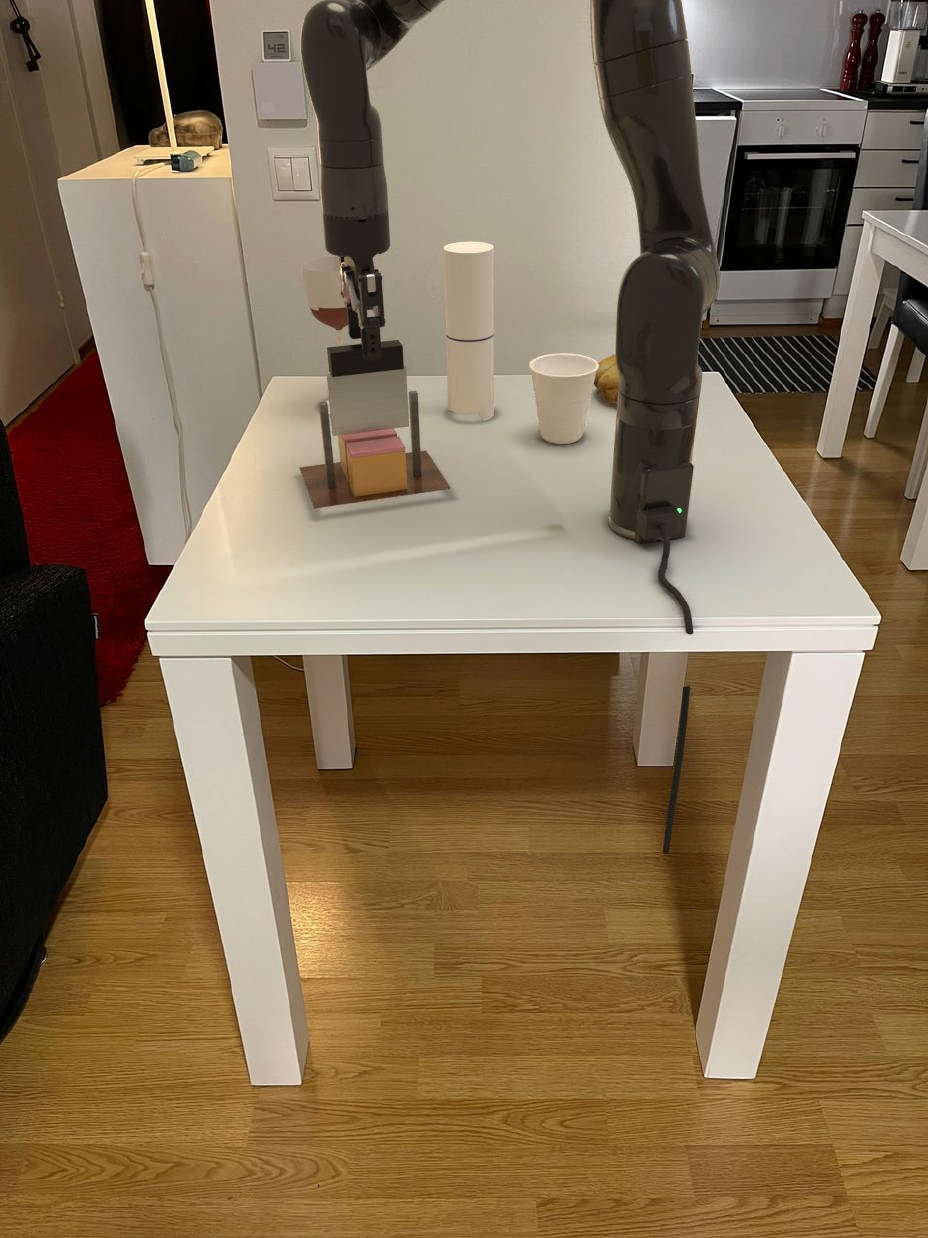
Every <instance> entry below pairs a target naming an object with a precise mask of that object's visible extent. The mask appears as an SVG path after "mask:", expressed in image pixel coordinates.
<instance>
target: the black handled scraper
mask: <svg viewBox="0 0 928 1238" xmlns="http://www.w3.org/2000/svg"><path fill="white" fill-rule="evenodd" d="M326 353H327V362H328V363H327V364H328V372H329V373H327V374H326V384H327V393H328V400H329V404H330V414H329V416H330V424H331V425H330V426H331V434H332V435H331V436H333V437H338V435H346V434H354V433H362V432H369V431H377V430H385V429H393V428H394V429H398V428H399V429H401V428H407V427H410V413H409V394H408V380H407V379H408V378H407V365H405V362H404V361H405V360H404V345H403V344H402V343H401V342H400V340H399V339H393V340H392V339H391V340H384V341H382V340H381V353H382V356H381V358H380V359H379V360H370V361H366V360H365V359H364V358H363V356H362V345H361V343H356V344H348V345H347V344H346V345H343V346H338V345H337V346H329V347H326Z"/></svg>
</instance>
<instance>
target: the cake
mask: <svg viewBox="0 0 928 1238" xmlns="http://www.w3.org/2000/svg"><path fill="white" fill-rule="evenodd" d="M337 442H338V451H339V462H340V464H341V468H342V470H343V472H344V474H345V476H346V479H347V481H348V482H349V484H350V487H351V490H352V492H353V494H354V496H355V497H358V496H365V495H371V494H378V493H385V492H392V491H399V490H406V489H407V472H406V453H407V452H406V446H405V444H404V443H403V441H402V439H401V437H400V436H398V433H397V431H396V430H395V428H393V429H385V430H377V431H369V432H362V433H354V434H346V435H338V436H337Z"/></svg>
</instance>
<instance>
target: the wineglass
mask: <svg viewBox="0 0 928 1238" xmlns="http://www.w3.org/2000/svg"><path fill="white" fill-rule="evenodd" d="M300 269H301V278H302V283H303V288H304V291H305V292H304V293H305V296H306V300H307V302H308V306H309V310H310V312H311V314H312V316H313V317H314V318H315V319H316V320H317V321H318V322H319V323H321V324H323V325H326V326H328V327H331V328H333V329H335V331H336V340H337V346H344V339H343V329H345V328H346V327H348V317H347V308H349V307H347V308H346V307H345V305H344V298H342V296H341V279H340V265H339V257H338V256H327V257H319V258H314V259H310V260H307V261H304V262H303V263H301V265H300ZM324 402H327V404H328V412H329V415H330V404H329V399H328V400H324Z"/></svg>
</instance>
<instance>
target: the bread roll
mask: <svg viewBox="0 0 928 1238" xmlns="http://www.w3.org/2000/svg"><path fill="white" fill-rule="evenodd" d="M598 364H599V368H598V370H597V371H596V376H595V380H594V385H593V386H594V387H595V388H596V389H597V391H598V393H599V395H600V397H602V400H604V401H606V402H608V403H610V404H611V403H613V404H617V403H618V390H619V374H618V371H617V367H616V360H615V354H612V355H610V356H607V357H605V358H603V359H601V360H600V361H598Z"/></svg>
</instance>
